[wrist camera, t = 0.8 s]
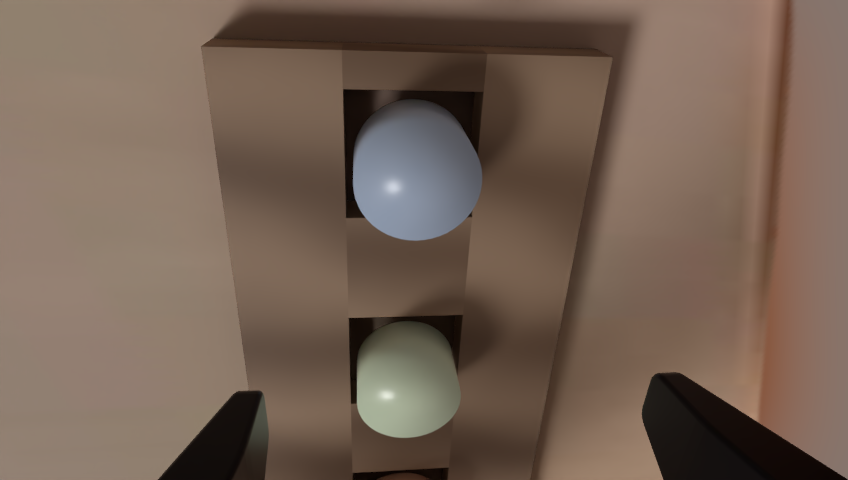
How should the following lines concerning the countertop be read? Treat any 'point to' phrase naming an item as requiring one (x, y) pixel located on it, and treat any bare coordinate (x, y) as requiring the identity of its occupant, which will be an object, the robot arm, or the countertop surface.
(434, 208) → the slate button
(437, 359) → the sage button
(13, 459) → the countertop surface
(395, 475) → the terracotta button
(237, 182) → the button panel
